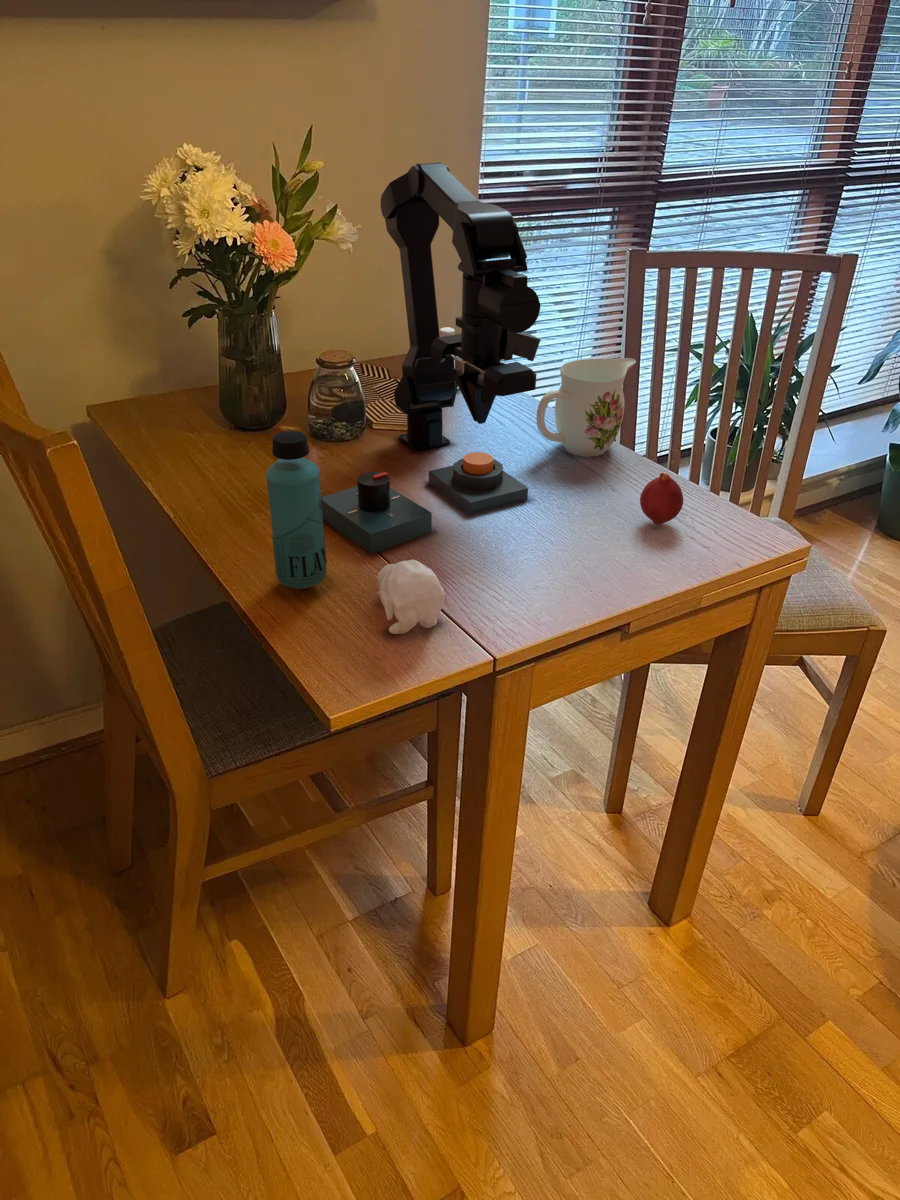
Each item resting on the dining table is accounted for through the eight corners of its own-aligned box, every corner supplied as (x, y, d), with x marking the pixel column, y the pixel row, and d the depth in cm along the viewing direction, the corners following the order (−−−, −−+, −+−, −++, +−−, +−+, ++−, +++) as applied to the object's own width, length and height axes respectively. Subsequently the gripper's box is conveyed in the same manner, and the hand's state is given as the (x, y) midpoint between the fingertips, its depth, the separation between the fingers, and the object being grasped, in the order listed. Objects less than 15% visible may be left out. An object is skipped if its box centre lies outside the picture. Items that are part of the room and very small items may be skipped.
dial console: (319, 517, 130) (318, 497, 128) (378, 497, 135) (377, 478, 134) (371, 554, 122) (370, 533, 120) (431, 532, 127) (431, 511, 125)
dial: (370, 515, 124) (369, 486, 122) (352, 503, 127) (350, 475, 125) (396, 506, 126) (396, 477, 124) (378, 494, 129) (377, 466, 127)
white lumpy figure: (393, 580, 99) (359, 539, 109) (397, 648, 103) (364, 602, 113) (447, 569, 101) (409, 529, 111) (449, 636, 105) (412, 592, 115)
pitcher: (516, 447, 151) (520, 365, 144) (604, 428, 159) (613, 349, 151) (554, 473, 143) (560, 388, 136) (645, 451, 151) (656, 369, 143)
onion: (653, 510, 133) (660, 459, 129) (687, 524, 130) (696, 472, 125) (629, 523, 130) (636, 471, 125) (663, 538, 126) (671, 485, 122)
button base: (428, 482, 140) (428, 458, 138) (484, 469, 144) (485, 445, 142) (469, 515, 131) (470, 490, 129) (527, 500, 135) (529, 475, 133)
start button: (457, 466, 136) (457, 455, 135) (482, 460, 138) (483, 449, 137) (473, 478, 133) (473, 466, 132) (498, 471, 135) (499, 460, 134)
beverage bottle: (286, 604, 111) (271, 451, 100) (269, 579, 116) (252, 430, 105) (336, 592, 114) (327, 441, 103) (317, 567, 118) (306, 420, 108)
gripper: (573, 321, 120) (563, 434, 128) (496, 288, 133) (492, 392, 142) (501, 333, 115) (496, 449, 123) (429, 298, 128) (429, 404, 137)
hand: (479, 422), depth 132 cm, fingers closed
